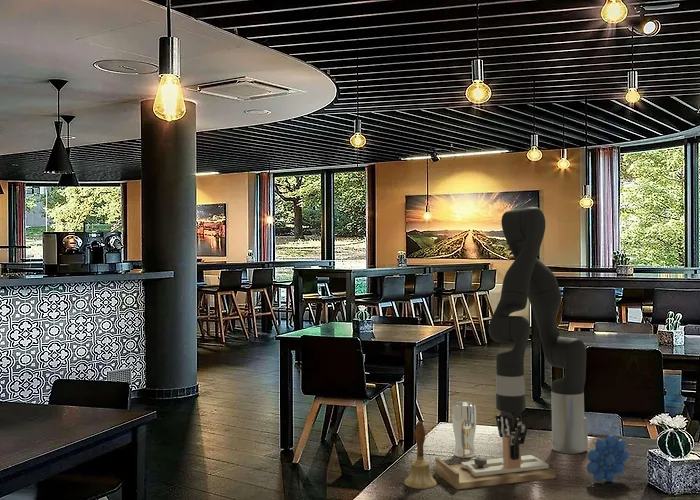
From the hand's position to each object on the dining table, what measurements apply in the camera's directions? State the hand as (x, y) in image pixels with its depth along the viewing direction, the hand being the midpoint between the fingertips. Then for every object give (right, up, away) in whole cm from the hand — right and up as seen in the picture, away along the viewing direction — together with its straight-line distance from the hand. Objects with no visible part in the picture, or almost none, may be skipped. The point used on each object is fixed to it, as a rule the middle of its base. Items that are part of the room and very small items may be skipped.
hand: (511, 457), depth 184 cm
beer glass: (-9, -6, +21) cm, 23 cm away
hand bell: (-24, -6, -3) cm, 25 cm away
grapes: (+23, -5, -4) cm, 24 cm away
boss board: (-4, -5, +2) cm, 7 cm away
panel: (-1, -4, +3) cm, 5 cm away
